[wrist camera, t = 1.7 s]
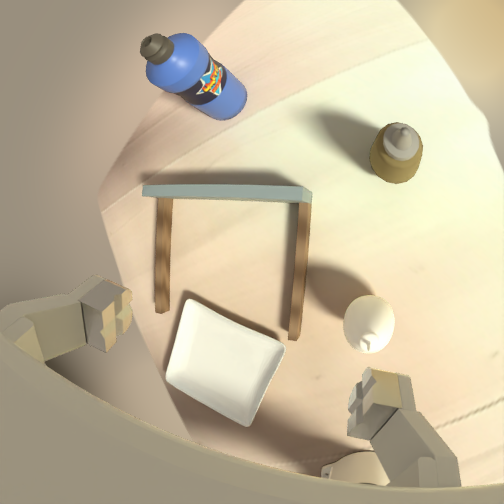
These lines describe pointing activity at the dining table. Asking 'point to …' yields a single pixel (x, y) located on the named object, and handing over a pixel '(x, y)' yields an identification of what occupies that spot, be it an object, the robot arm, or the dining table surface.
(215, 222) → the dining table surface
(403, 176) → the squeeze bottle
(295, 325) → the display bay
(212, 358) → the salad plate
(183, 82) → the water bottle
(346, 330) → the white dust blower
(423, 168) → the dining table surface
